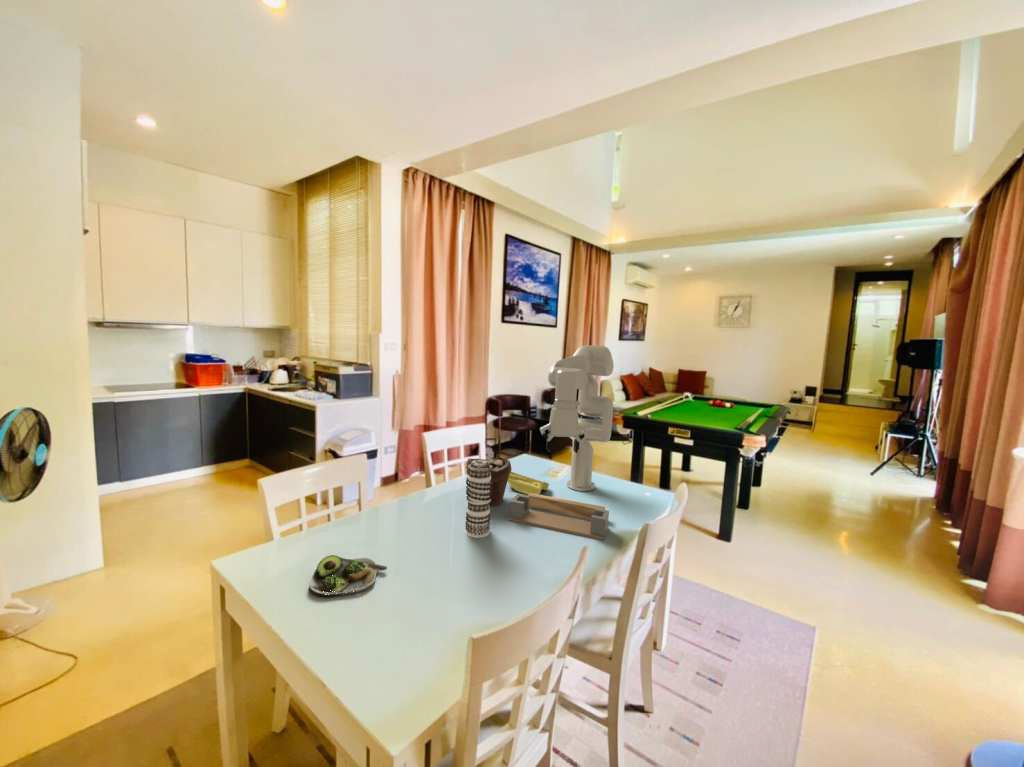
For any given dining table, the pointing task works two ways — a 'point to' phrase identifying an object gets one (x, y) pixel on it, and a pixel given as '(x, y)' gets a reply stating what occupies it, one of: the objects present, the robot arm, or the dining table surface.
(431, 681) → the dining table surface
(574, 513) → the slat
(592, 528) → the end cap frame
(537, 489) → the plastic component
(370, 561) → the salad plate
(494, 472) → the brown pot
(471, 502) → the tower model
